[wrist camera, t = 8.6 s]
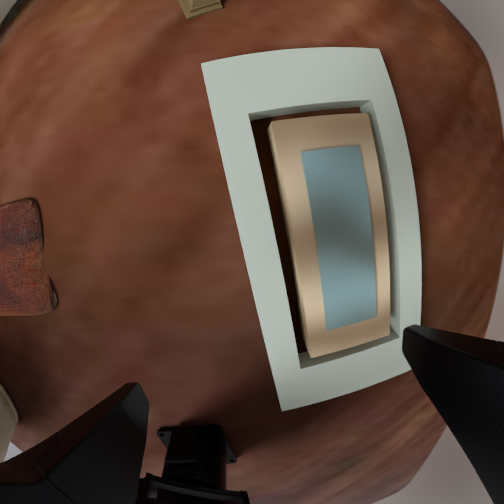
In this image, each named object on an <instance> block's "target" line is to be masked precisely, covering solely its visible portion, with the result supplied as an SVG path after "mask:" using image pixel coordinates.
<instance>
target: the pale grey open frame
mask: <svg viewBox="0 0 504 504" xmlns="http://www.w3.org/2000/svg"><path fill="white" fill-rule="evenodd" d="M201 66H202V71H203V75H204V80H205V85H206V89H207V94H208V98H209V103H210V107H211V112H212V116H213V121H214V125H215V130H216V134H217V139H218V143H219V148H220V152H221V157H222V161H223V166H224V170H225V174H226V179H227V183H228V188H229V192H230V196H231V201H232V205H233V209H234V214H235V218H236V222H237V227H238V231H239V235H240V240H241V244H242V248H243V252H244V257H245V261H246V265H247V270H248V274H249V278H250V282H251V286H252V291H253V295H254V299H255V303H256V308H257V312H258V316H259V320H260V324H261V328H262V333H263V337H264V341H265V345H266V349H267V353H268V357H269V361H270V366H271V370H272V374H273V378H274V382H275V386H276V390H277V394H278V398H279V402H280V406H281V410H282V411H286V410H290V409H295V408H299V407H303V406H307V405H311V404H314V403H318V402H322V401H325V400H329V399H332V398H335V397H339V396H342V395H345V394H348V393H351V392H354V391H357V390H360V389H363V388H366V387H369V386H371V385H374V384H377V383H379V382H382V381H385V380H387V379H390V378H392V377H395V376H397V375H399V374H402V373H404V372H407V371H409V370H411V367H410V366H409V364H408V362H407V360H406V358H405V357H404V355H403V352H402V339H403V330H404V328H405V327H408V326H411V325H414V324H415V325H420V321H421V298H422V265H421V241H420V227H419V216H418V207H417V198H416V191H415V184H414V177H413V171H412V165H411V160H410V154H409V149H408V145H407V140H406V135H405V131H404V127H403V123H402V119H401V115H400V111H399V108H398V104H397V100H396V97H395V94H394V90H393V87H392V84H391V81H390V78H389V75H388V72H387V69H386V66H385V64H384V61H383V58H382V55H381V53H380V50H379V49H374V48H353V47H320V48H299V49H286V50H276V51H268V52H260V53H253V54H246V55H240V56H234V57H229V58H224V59H219V60H214V61H210V62H205V63H201ZM354 107H360V111H361V113H368V115H369V120H370V124H371V128H372V133H373V138H374V142H375V147H376V153H377V158H378V164H379V170H380V176H381V182H382V189H383V197H384V205H385V214H386V223H387V234H388V248H389V266H390V335H388V336H385V337H382V338H379V339H376V340H373V341H370V342H367V343H364V344H360V345H357V346H354V347H351V348H347V349H344V350H340V351H337V352H333V353H329V354H326V355H322V356H318V357H314V358H311V357H310V355H309V352H308V351H306V352H302V353H298V352H297V346H296V341H295V335H294V329H293V324H292V319H291V313H290V308H289V303H288V297H287V292H286V287H285V282H284V277H283V272H282V266H281V261H280V256H279V252H278V247H277V242H276V237H275V232H274V227H273V222H272V218H271V213H270V208H269V204H268V199H267V194H266V190H265V185H264V181H263V176H262V172H261V167H260V163H259V158H258V154H257V150H256V145H255V141H254V137H253V132H252V128H251V124H250V121H252V120H257V119H263V118H269V117H275V116H281V115H287V114H294V113H302V112H310V111H319V110H329V109H340V108H354Z"/></svg>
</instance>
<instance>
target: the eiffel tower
mask: <svg viewBox="0 0 504 504" xmlns="http://www.w3.org/2000/svg"><path fill="white" fill-rule="evenodd" d="M178 2H179V4H180V6H181V8H182V10H183V12H184V15H185V17H186V19H187V20H189V19H192V18H195V17H198V16H201V15H204V14H207V13H210V12H213V11H217V10H220V9H223V7H222V5H221V2H220V0H178Z"/></svg>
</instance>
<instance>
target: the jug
mask: <svg viewBox="0 0 504 504" xmlns="http://www.w3.org/2000/svg"><path fill="white" fill-rule="evenodd" d="M17 422H18V413H17V411H16V408H15V406H14V404H13V402H12V400H11V399H10V397H9V395H8V394H7V392H6V391H5V390H4V388H3V386H2V385H1V383H0V463H1V462H3V461H4V459H5V456H6V453H7V450H8V446H9V443H10V440H11V438H12V436H13V434H14V432H15V428H16V424H17Z"/></svg>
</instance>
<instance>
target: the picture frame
mask: <svg viewBox="0 0 504 504" xmlns="http://www.w3.org/2000/svg"><path fill="white" fill-rule="evenodd" d="M267 134H268V138H269V143H270V148H271V153H272V158H273V163H274V168H275V173H276V178H277V183H278V188H279V194H280V199H281V204H282V210H283V215H284V221H285V226H286V232H287V238H288V244H289V250H290V256H291V262H292V268H293V274H294V280H295V287H296V293H297V300H298V307H299V314H300V321H301V328H302V335H303V340H304V343H305V345H306V347H307V350H308V352H309V355H310V357H311V358H314V357H318V356H322V355H326V354H329V353H333V352H337V351H340V350H344V349H347V348H351V347H354V346H357V345H360V344H364V343H367V342H370V341H373V340H376V339H379V338H382V337H385V336H388V335H390V266H389V248H388V234H387V223H386V214H385V205H384V197H383V189H382V182H381V176H380V170H379V164H378V158H377V153H376V147H375V142H374V138H373V133H372V128H371V124H370V120H369V115H368V113H352V114H335V115H322V116H311V117H302V118H293V119H285V120H278V121H272V122H271V124H270V126H269V127H268V129H267Z"/></svg>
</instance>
